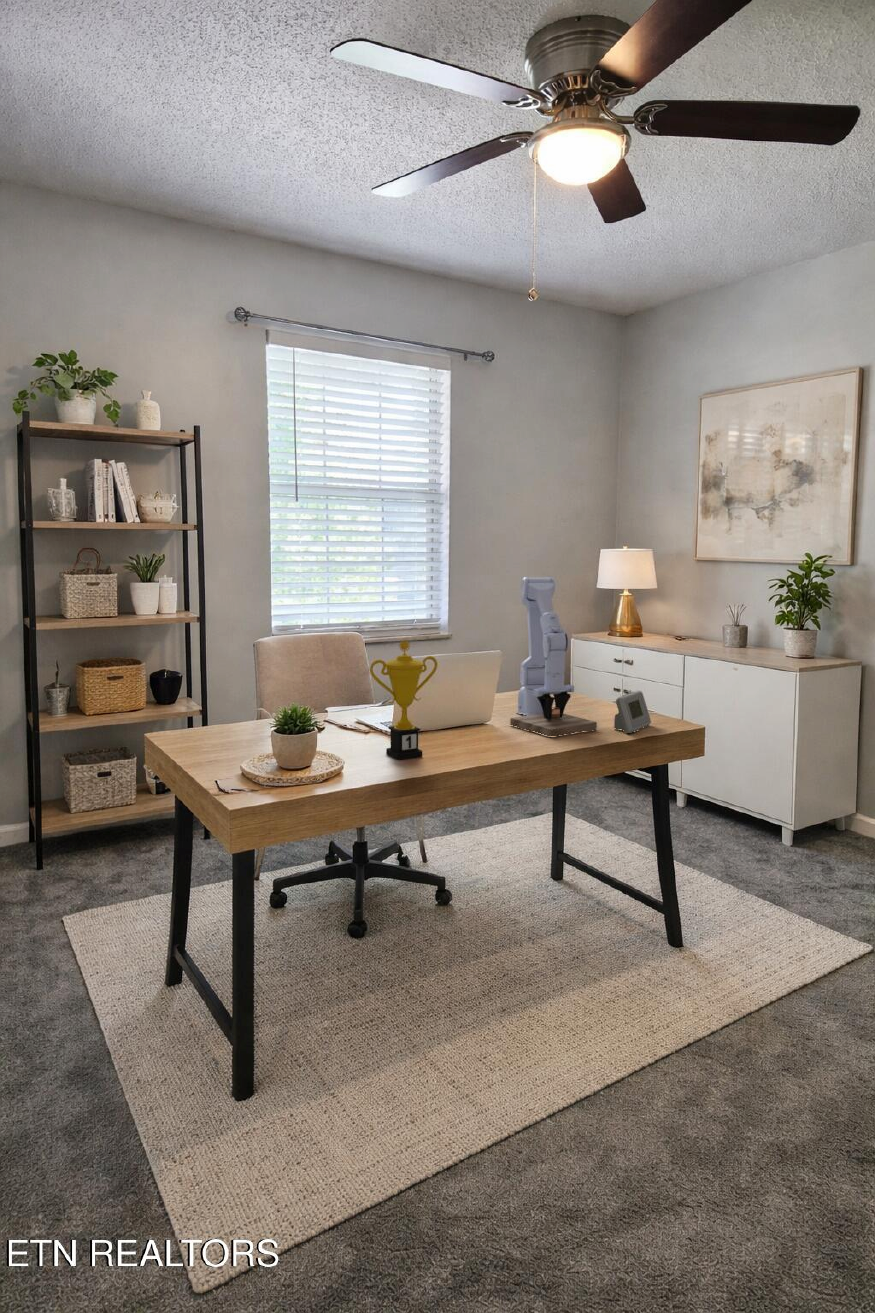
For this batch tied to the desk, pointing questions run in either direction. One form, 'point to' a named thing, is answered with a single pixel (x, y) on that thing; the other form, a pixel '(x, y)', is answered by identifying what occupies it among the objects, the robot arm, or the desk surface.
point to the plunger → (555, 712)
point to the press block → (553, 724)
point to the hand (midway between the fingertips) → (553, 717)
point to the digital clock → (631, 712)
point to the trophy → (404, 700)
